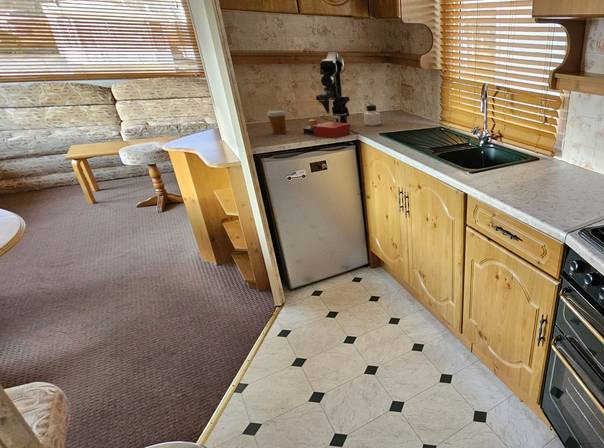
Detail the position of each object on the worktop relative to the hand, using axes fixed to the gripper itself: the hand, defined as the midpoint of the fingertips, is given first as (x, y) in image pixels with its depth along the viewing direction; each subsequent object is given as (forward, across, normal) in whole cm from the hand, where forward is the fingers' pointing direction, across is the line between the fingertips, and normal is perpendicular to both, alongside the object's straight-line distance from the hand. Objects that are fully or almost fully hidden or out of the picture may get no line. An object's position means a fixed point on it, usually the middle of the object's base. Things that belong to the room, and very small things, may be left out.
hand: (334, 113), depth 228 cm
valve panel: (+11, -12, -4) cm, 17 cm away
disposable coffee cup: (+11, -29, -13) cm, 34 cm away
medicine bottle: (+11, +4, +29) cm, 31 cm away
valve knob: (+8, -13, -4) cm, 15 cm away
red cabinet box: (+11, 0, -5) cm, 12 cm away
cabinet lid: (+6, 0, -5) cm, 8 cm away
